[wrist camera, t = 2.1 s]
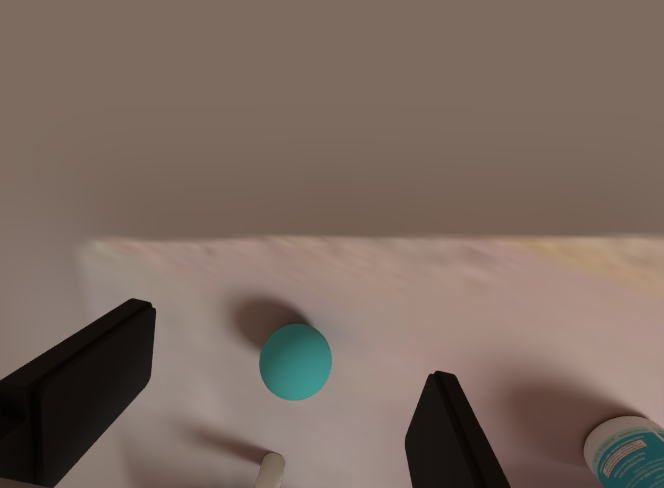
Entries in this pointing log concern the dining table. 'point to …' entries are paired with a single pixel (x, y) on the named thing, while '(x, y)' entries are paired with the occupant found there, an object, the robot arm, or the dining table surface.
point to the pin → (271, 471)
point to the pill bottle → (627, 453)
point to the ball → (295, 362)
